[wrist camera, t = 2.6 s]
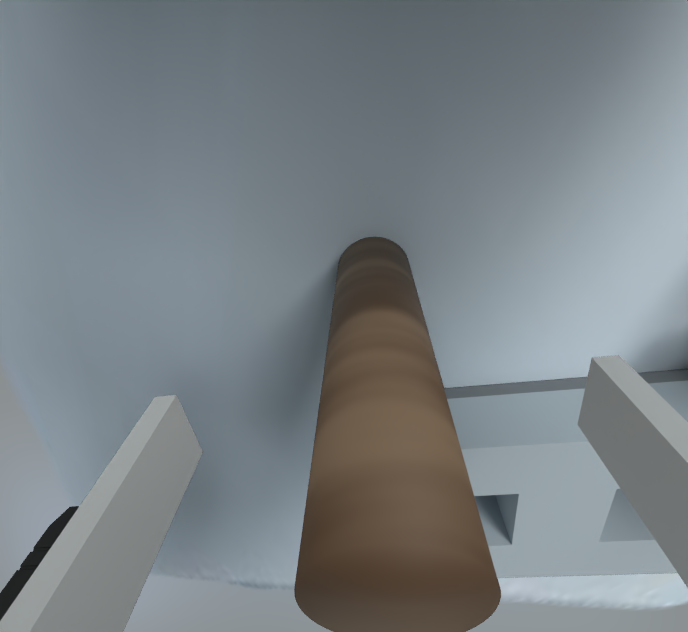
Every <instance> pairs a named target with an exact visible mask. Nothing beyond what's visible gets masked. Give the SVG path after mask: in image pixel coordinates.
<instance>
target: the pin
mask: <svg viewBox="0 0 688 632" xmlns="http://www.w3.org/2000/svg"><path fill="white" fill-rule="evenodd" d="M294 590H295V598H296V602H297V603H298V606H299V607H300V609H301V610H302V611H303V612H304V614H306V615H307V616H308V617H309V618H310V619H311V620H313V621H314V622H316V623H317V624H319V625H321V626H323V627H325V628H326V629H329V630H331V631H333V632H466V631H468V630H470V629H472V628H474V627H476V626H477V625H479V624H481V623H482V622H484V621H485V620H486V619H488V618H489V617H490V616H491V615H492V614H493V612H494V611H495V610H496V608H497V606H498V605H499V602H500V598H501V590H500V586H499V583H498V579H497V575H496V572H495V568H494V565H493V561H492V558H491V554H490V550H489V547H488V543H487V540H486V536H485V533H484V529H483V525H482V522H481V518H480V515H479V511H478V508H477V504H476V501H475V497H474V493H473V490H472V486H471V483H470V479H469V476H468V472H467V468H466V465H465V461H464V458H463V454H462V451H461V447H460V443H459V440H458V436H457V433H456V429H455V426H454V422H453V418H452V415H451V411H450V408H449V404H448V401H447V397H446V394H445V390H444V386H443V383H442V379H441V376H440V372H439V369H438V365H437V361H436V358H435V354H434V351H433V347H432V344H431V340H430V336H429V333H428V329H427V326H426V322H425V319H424V315H423V311H422V308H421V304H420V301H419V297H418V294H417V290H416V286H415V283H414V279H413V276H412V272H411V269H410V265H409V262H408V258H407V256H406V254H405V253H404V251H403V250H402V249H401V247H399V246H398V245H397V244H396V243H394V242H393V241H391V240H388V239H385V238H381V237H368V238H364V239H360V240H358V241H356V242H354V243H353V244H351V245H350V246H349V247H348V248H347V249H346V250H345V251H344V253H343V254H342V256H341V258H340V261H339V265H338V272H337V279H336V286H335V294H334V301H333V308H332V316H331V323H330V331H329V338H328V345H327V353H326V360H325V367H324V375H323V382H322V390H321V397H320V404H319V412H318V419H317V426H316V434H315V441H314V449H313V456H312V463H311V471H310V478H309V485H308V493H307V500H306V508H305V515H304V522H303V530H302V537H301V544H300V552H299V559H298V567H297V574H296V581H295V589H294Z"/></svg>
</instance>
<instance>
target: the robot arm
mask: <svg viewBox="0 0 688 632" xmlns="http://www.w3.org/2000/svg"><path fill="white" fill-rule="evenodd" d="M577 425H578V426H579V428H580V429H581V431H582V432H583V434H584V435H585V437H586V438H587V440H588V441H589V442H590V444H591V445H592V447H593V448H594V450H595V451H596V453H597V454H598V456H599V457H600V459H601V460H602V462H603V463H604V465H605V466H606V468H607V469H608V471H609V472H610V474H611V475H612V476H613V478H614V479H615V481H616V482H617V484H618V485H619V487H620V488H621V490H622V491H623V493H624V494H625V496H626V497H627V499H628V500H629V502H630V503H631V505H632V506H633V508H634V509H635V510H636V512H637V513H638V515H639V516H640V518H641V519H642V521H643V522H644V524H645V525H646V527H647V528H648V530H649V531H650V533H651V534H652V536H653V537H654V539H655V540H656V542H657V543H658V544H659V546H660V547H661V549H662V550H663V552H664V553H665V555H666V556H667V558H668V559H669V561H670V562H671V564H672V565H673V567H674V568H675V570H676V571H677V573H678V574H679V575H680V577H681V578H682V580H683V581H684V583H685V584H686V586H687V587H688V422H687V421H686V420H685V419H684V418H683V417H682V416H681V415H680V414H679V413H678V412H677V411H676V410H675V409H674V408H673V407H672V406H671V405H670V404H669V403H668V402H667V401H666V400H665V399H663V398H662V397H661V396H660V395H659V394H658V393H657V392H656V391H655V390H654V389H653V388H652V387H651V386H650V385H649V384H648V383H647V382H646V381H645V380H644V379H643V378H642V377H641V376H640V375H639V374H638V373H637V372H636V371H635V370H634V369H633V368H632V367H631V366H630V365H629V364H628V363H627V362H626V361H625V360H623V359H622V358H621V357H620V356H619V355H615V356H604V357H593V358H592V359H591V364H590V368H589V373H588V378H587V382H586V387H585V391H584V396H583V401H582V405H581V410H580V414H579V419H578V424H577ZM202 453H203V451H202V449H201V447H200V445H199V442H198V440H197V438H196V436H195V434H194V432H193V429H192V427H191V425H190V423H189V421H188V419H187V417H186V414H185V412H184V410H183V408H182V406H181V404H180V401H179V399H178V397H177V395H170V396H159V397H154V399H153V400H152V402H151V403H150V405H149V406H148V408H147V409H146V410H145V412H144V413H143V415H142V416H141V418H140V419H139V421H138V422H137V424H136V425H135V426H134V428H133V429H132V431H131V432H130V434H129V435H128V437H127V438H126V439H125V441H124V442H123V444H122V445H121V447H120V448H119V450H118V451H117V453H116V454H115V455H114V457H113V458H112V460H111V461H110V463H109V464H108V466H107V467H106V468H105V470H104V471H103V473H102V474H101V476H100V477H99V479H98V480H97V482H96V483H95V484H94V486H93V487H92V489H91V490H90V492H89V493H88V495H87V496H86V497H85V499H84V500H83V502H82V503H81V505H80V506H76V507H69V508H68V509H67V510H66V511H65V512H64V513H63V514H62V515H61V516H60V517H59V518H58V519H56V520H55V521H54V522H53V523H52V524H51V525H50V526H49V527H48V529H47V530H46V531H45V533H44V534H43V535H42V537H41V538H40V540H39V541H38V542H37V544H36V545H35V546H34V550H33V552H30V553H29V555H28V556H27V558H26V559H25V560H24V561H23V563H22V564H21V568H20V570H17V571H16V572H15V574H14V575H13V577H12V578H11V579H10V581H9V582H8V583H7V585H6V586H5V588H4V589H3V590H2V592H1V593H0V632H123V631H124V629H125V627H126V624H127V622H128V620H129V618H130V615H131V613H132V611H133V609H134V606H135V604H136V602H137V600H138V597H139V595H140V593H141V591H142V588H143V586H144V584H145V582H146V579H147V577H148V575H149V573H150V570H151V568H152V566H153V564H154V561H155V559H156V557H157V555H158V552H159V550H160V548H161V546H162V543H163V541H164V539H165V537H166V534H167V532H168V530H169V528H170V525H171V523H172V521H173V519H174V516H175V514H176V512H177V510H178V507H179V505H180V503H181V501H182V498H183V496H184V494H185V492H186V489H187V487H188V485H189V483H190V480H191V478H192V476H193V473H194V471H195V469H196V467H197V464H198V462H199V460H200V458H201V455H202Z"/></svg>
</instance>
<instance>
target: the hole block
mask: <svg viewBox="0 0 688 632" xmlns="http://www.w3.org/2000/svg"><path fill="white" fill-rule="evenodd" d="M638 374H639V375H640V376H641V377H642V378H643V379H644V380H645V381H646V382H647V383H648V384H649V385H650V386H651V387H652V388H653V389H654V390H655V391H656V392H657V393H658V394H659V395H660V396H661V397H662V398H663V399H665V400H666V401H667V402H668V403H669V404H670V405H671V406H672V407H673V408H674V409H675V410H676V411H677V412H678V413H679V414H680V415H681V416H682V417H683V418H684V419H685V420H686V421H687V422H688V369H684V370H671V371H659V372H646V373H638ZM587 378H588V377H583V378H571V379H558V380H546V381H533V382H521V383H508V384H495V385H483V386H470V387H458V388H445V389H444V390H445V394H446V397H447V401H448V404H449V408H450V411H451V415H452V418H453V422H454V426H455V429H456V433H457V436H458V440H459V443H460V447H461V451H462V454H463V458H464V461H465V465H466V468H467V472H468V476H469V479H470V483H471V486H472V490H473V493H474V497H475V501H476V504H477V508H478V511H479V515H480V518H481V522H482V525H483V529H484V533H485V536H486V540H487V543H488V547H489V550H490V554H491V558H492V561H493V565H494V568H495V572H496V575H497V578H519V577H555V576H591V575H627V574H663V573H677V571H676V570H675V568H674V567H673V565H672V564H671V562H670V561H669V559H668V558H667V556H666V555H665V553H664V552H663V550H662V549H661V547H660V546H659V544H658V543H657V542H656V540H655V539H654V537H653V536H652V534H651V533H650V531H649V530H648V528H647V527H646V525H645V524H644V522H643V521H642V519H641V518H640V516H639V515H638V513H637V512H636V510H635V509H634V508H633V506H632V505H631V503H630V502H629V500H628V499H627V497H626V496H625V494H624V493H623V491H622V490H621V488H620V487H619V485H618V484H617V482H616V481H615V479H614V478H613V476H612V475H611V474H610V472H609V471H608V469H607V468H606V466H605V465H604V463H603V462H602V460H601V459H600V457H599V456H598V454H597V453H596V451H595V450H594V448H593V447H592V445H591V444H590V442H589V441H588V440H587V438H586V437H585V435H584V434H583V432H582V431H581V429H580V428H579V426H578V425H577V424H578V419H579V414H580V410H581V405H582V401H583V396H584V391H585V387H586V382H587Z"/></svg>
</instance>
